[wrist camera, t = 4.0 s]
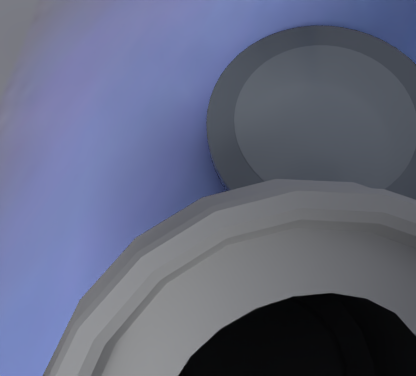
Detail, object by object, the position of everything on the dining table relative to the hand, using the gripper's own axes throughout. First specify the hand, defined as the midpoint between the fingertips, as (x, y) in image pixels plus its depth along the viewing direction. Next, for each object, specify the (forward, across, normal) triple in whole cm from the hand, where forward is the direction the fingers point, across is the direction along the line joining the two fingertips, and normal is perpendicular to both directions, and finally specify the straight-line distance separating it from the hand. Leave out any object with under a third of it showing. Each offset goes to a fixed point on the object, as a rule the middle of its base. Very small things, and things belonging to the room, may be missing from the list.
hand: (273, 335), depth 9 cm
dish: (+10, -4, -1) cm, 11 cm away
